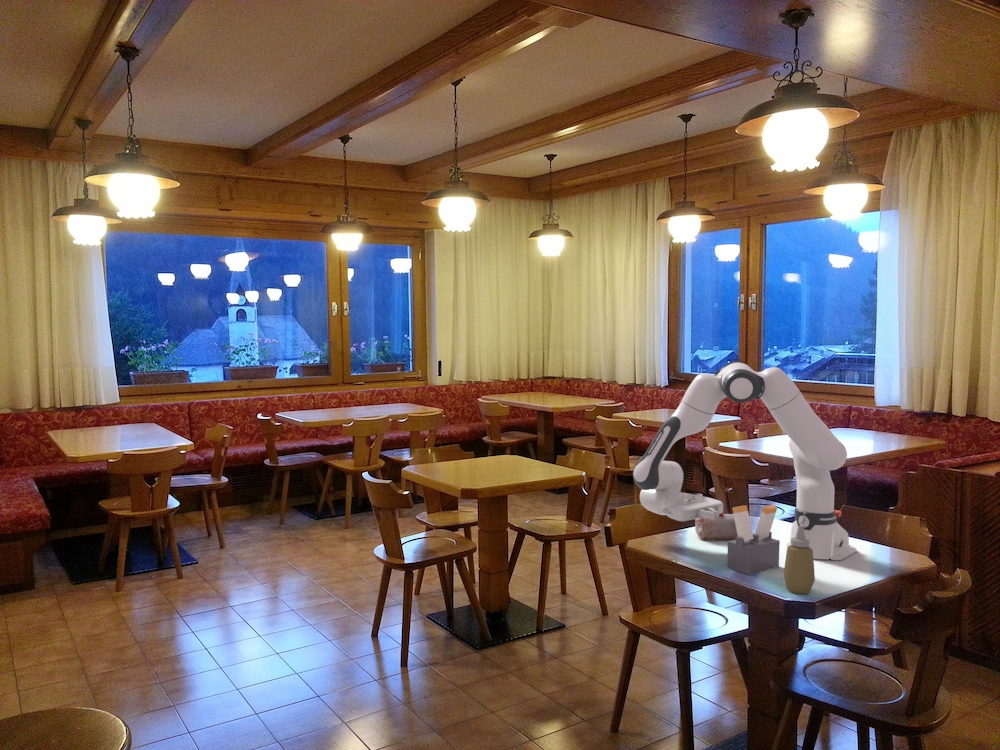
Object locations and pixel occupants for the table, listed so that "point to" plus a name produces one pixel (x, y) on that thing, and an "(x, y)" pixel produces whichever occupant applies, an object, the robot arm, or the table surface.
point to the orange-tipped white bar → (765, 521)
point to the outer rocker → (742, 522)
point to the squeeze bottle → (799, 564)
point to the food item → (716, 527)
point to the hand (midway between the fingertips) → (715, 515)
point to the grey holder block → (753, 554)
